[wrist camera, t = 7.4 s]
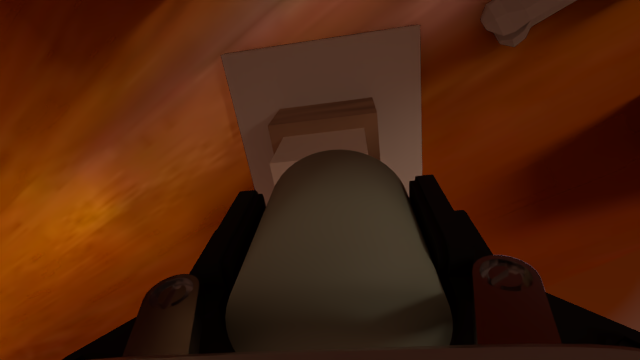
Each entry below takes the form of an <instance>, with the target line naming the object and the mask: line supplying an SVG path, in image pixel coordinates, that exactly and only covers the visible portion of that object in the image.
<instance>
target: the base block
mask: <svg viewBox="0 0 640 360" xmlns="http://www.w3.org/2000/svg"><path fill="white" fill-rule="evenodd" d="M358 128H364V131H365V137H366V143H367V150H368V155H370V156H372V157H374V158H376V159H378V160H380V147H379V133H378V119H377V111H376V108H375V104H374V101H373V98H372V97H370V98H362V99H354V100H346V101H339V102H331V103H323V104H315V105H307V106H299V107H291V108H283V109H279V111H278V112H277V113H276V115H275V116H274V118H273V119H272V120H271V122H270V123H269V125H268V130H269V135H270V139H271V144H272V148H273V153H274V154H275V152H276V150H277V148H278V146H279V145H280V143H281V141H282V139H283V137H289V136H297V135H306V134H315V133H323V132H332V131H341V130H349V129H358Z"/></svg>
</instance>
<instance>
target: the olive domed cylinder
mask: <svg viewBox="0 0 640 360" xmlns="http://www.w3.org/2000/svg"><path fill="white" fill-rule="evenodd" d="M225 320H226V329H227V333H228V337H229V340H230V342H231V344H232V347H233V349H234V350H235V352H257V351H286V350H315V349H345V348H376V347H412V346H448V345H450V342H451V338H452V331H453V320H452V314H451V310H450V306H449V303H448V301H447V298H446V295H445V293H444V290H443V287H442V285H441V282H440V279H439V277H438V274H437V271H436V269H435V266H434V263H433V261H432V258H431V255H430V253H429V250H428V247H427V245H426V242H425V239H424V237H423V234H422V231H421V229H420V226H419V223H418V221H417V218H416V215H415V213H414V210H413V207H412V205H411V202H410V199H409V196H408V194H407V191H406V189H405V187H404V185H403V183H402V182H401V180H400V178H399V177H398V176H397V175H396V174H395V172H394V171H393V170H391V169H390V168H389V167H388V166H387V165H386V164H384V163H383V162H381V161H380V160H378V159H376V158H374V157H372V156H370V155H367V154H364V153H361V152H357V151H352V150H342V149H339V150H327V151H321V152H317V153H314V154H311V155H309V156H306V157H304V158H302V159H300V160H299V161H297V162H295V163H294V164H293V165H292V166H290V167H289V168H288V169H287V170H286V171H285V172H284V173H283V174H282V175H281V177H280V178H279V180H278V181H277V183H276V185H275V187H274V189H273V191H272V194H271V196H270V199H269V201H268V203H267V206H266V208H265V211H264V213H263V216H262V218H261V221H260V223H259V225H258V228H257V230H256V233H255V235H254V238H253V240H252V243H251V245H250V248H249V250H248V252H247V255H246V257H245V260H244V262H243V265H242V267H241V270H240V272H239V274H238V277H237V279H236V282H235V284H234V287H233V289H232V292H231V294H230V297H229V300H228V303H227V307H226V315H225Z"/></svg>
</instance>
